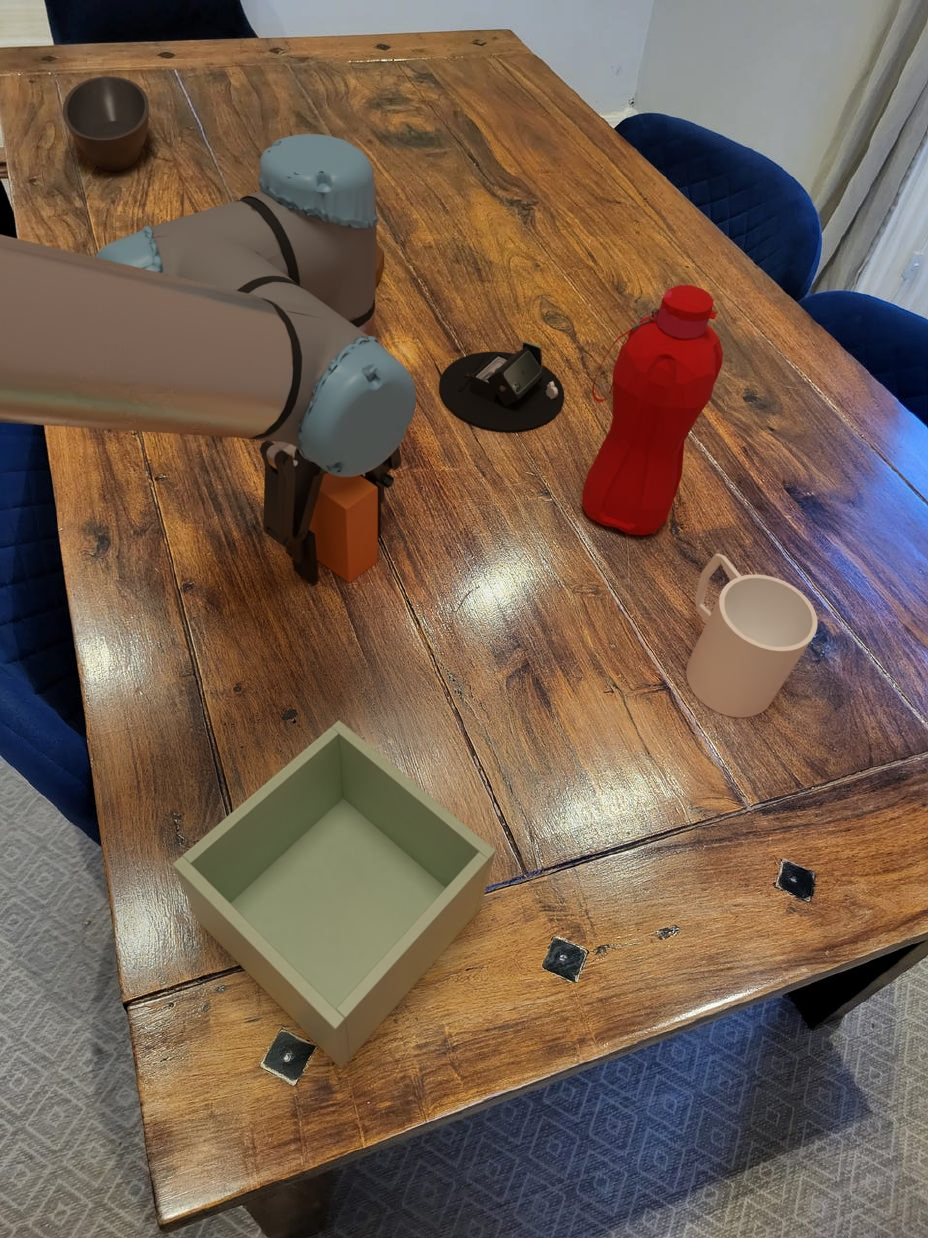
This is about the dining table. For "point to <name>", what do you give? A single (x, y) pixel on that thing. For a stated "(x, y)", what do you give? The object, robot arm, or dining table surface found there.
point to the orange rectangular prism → (346, 525)
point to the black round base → (502, 390)
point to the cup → (747, 640)
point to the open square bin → (337, 887)
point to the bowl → (108, 120)
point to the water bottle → (654, 412)
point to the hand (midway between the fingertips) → (338, 552)
